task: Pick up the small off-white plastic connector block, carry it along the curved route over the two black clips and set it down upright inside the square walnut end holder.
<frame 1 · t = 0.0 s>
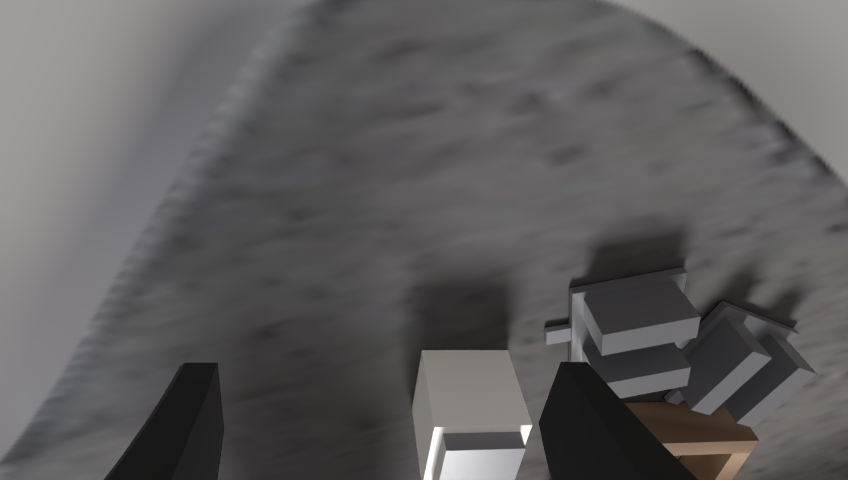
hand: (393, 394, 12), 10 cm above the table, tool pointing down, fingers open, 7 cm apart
end holder: (632, 452, 33), on the table
clip B: (722, 350, 29), on the table
connector: (458, 379, 28), on the table
clip A: (622, 319, 27), on the table
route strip: (655, 335, 27), on the table
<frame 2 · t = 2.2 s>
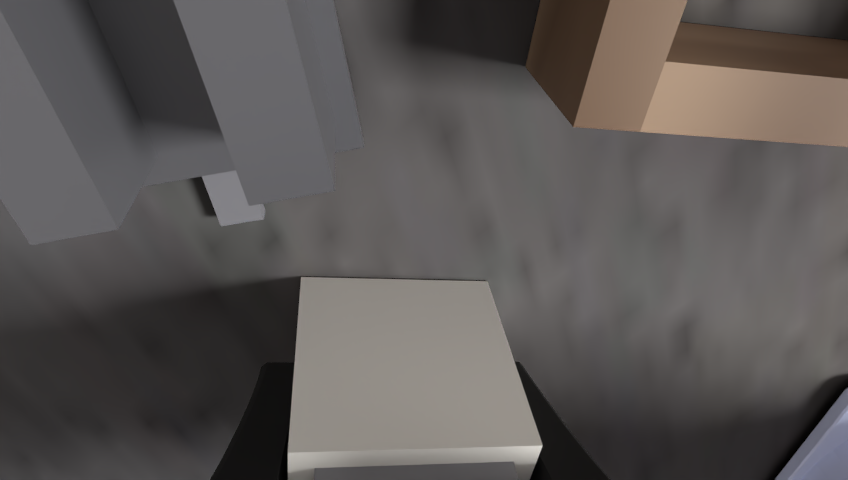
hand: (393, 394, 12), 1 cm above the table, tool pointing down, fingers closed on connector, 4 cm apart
connector: (388, 346, 14), on the table, touching gripper
clip A: (171, 18, 9), on the table
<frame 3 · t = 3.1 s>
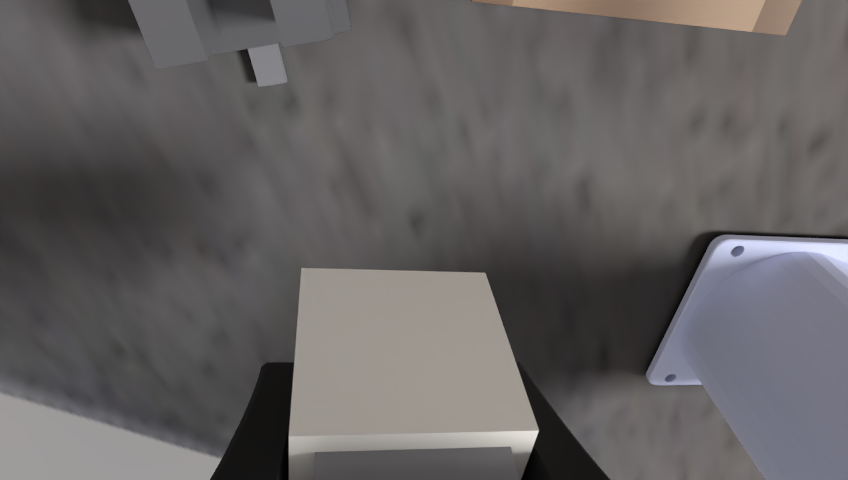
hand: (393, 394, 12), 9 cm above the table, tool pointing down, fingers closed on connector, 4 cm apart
connector: (387, 337, 14), point 7 cm above the table, touching gripper
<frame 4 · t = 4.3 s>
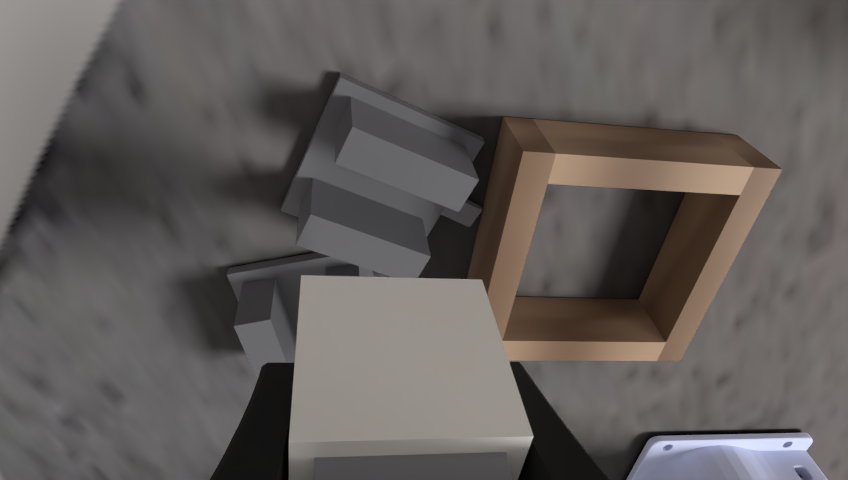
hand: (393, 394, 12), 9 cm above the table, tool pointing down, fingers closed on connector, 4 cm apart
end holder: (588, 231, 22), on the table
clip B: (380, 171, 19), on the table
connector: (385, 343, 14), point 7 cm above the table, touching gripper
clip A: (314, 306, 22), on the table
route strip: (343, 266, 21), on the table
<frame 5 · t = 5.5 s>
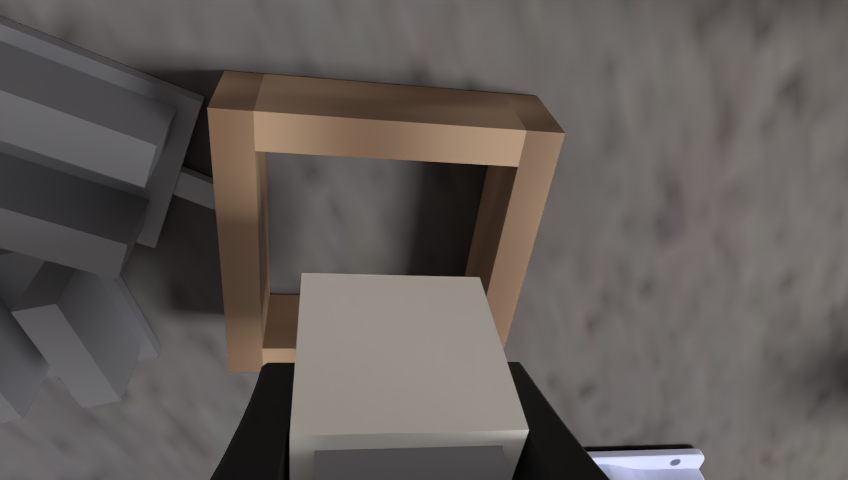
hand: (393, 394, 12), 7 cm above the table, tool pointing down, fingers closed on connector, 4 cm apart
end holder: (375, 216, 18), on the table
clip B: (84, 140, 16), on the table
connector: (385, 340, 14), point 5 cm above the table, touching gripper
clip A: (53, 308, 19), on the table
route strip: (74, 259, 18), on the table
when the fingers open (3 cm above the table, at t = 6.5 s): connector drops 1 cm, resting in end holder.
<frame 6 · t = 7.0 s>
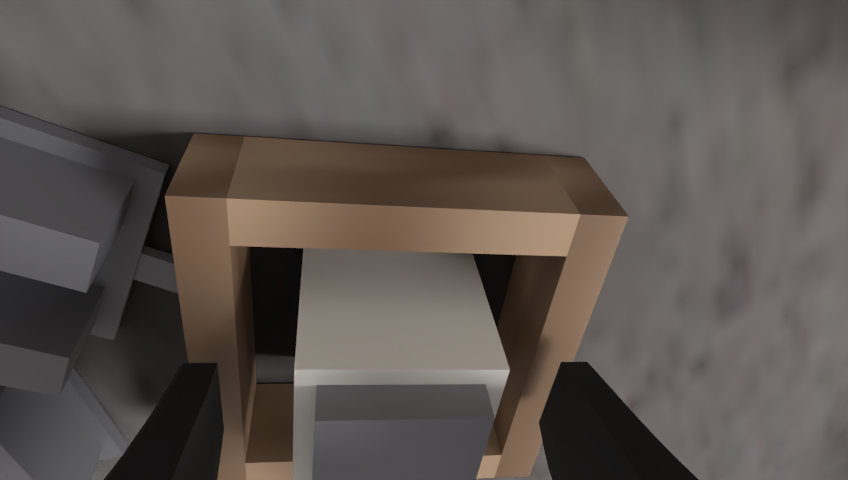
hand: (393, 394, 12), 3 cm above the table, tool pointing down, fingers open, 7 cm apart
end holder: (383, 296, 15), on the table
clip B: (19, 218, 12), on the table
connector: (380, 301, 15), resting in end holder
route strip: (16, 351, 15), on the table
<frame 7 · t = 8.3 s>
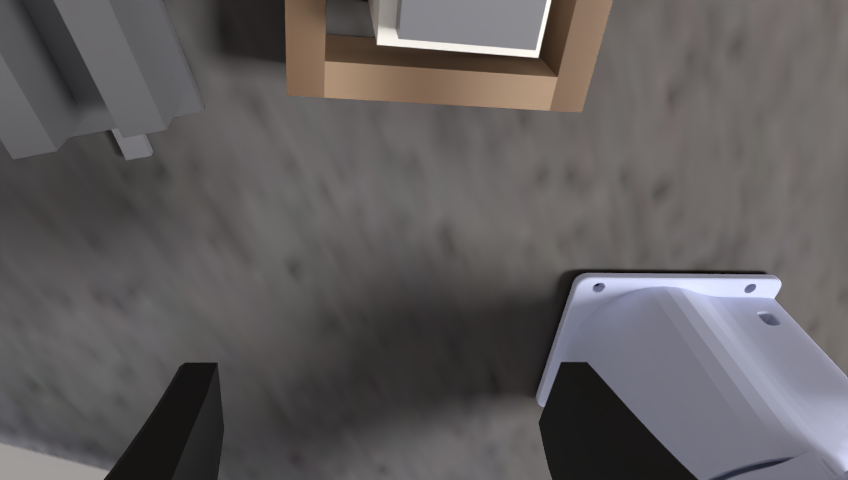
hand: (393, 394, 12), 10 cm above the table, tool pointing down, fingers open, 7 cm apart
clip A: (86, 42, 17), on the table
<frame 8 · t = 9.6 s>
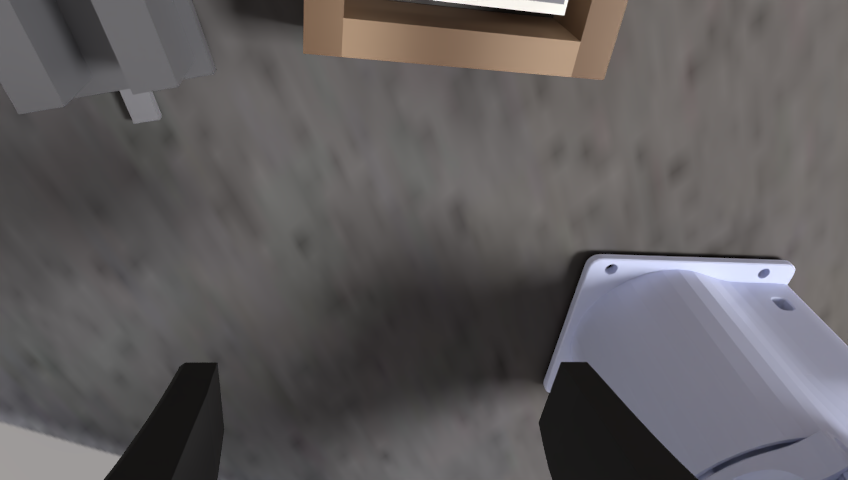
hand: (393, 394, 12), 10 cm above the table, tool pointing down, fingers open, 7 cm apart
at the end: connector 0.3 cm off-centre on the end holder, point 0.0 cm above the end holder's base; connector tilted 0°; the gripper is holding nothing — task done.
